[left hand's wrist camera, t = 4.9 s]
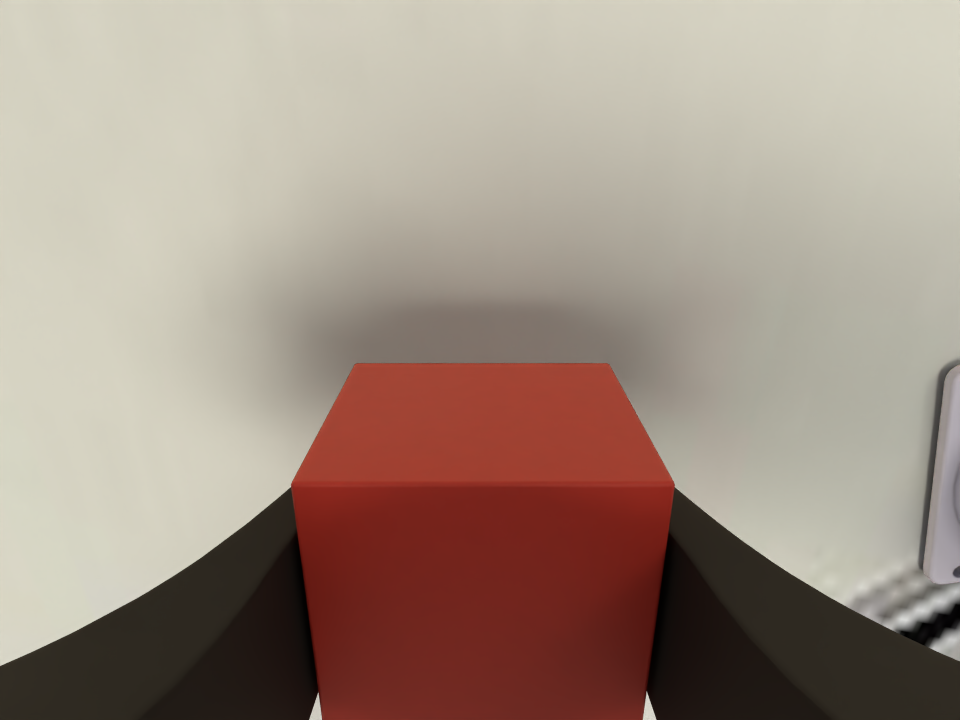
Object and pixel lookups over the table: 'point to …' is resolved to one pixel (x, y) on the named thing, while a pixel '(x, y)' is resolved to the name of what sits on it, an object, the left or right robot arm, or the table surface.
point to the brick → (482, 544)
